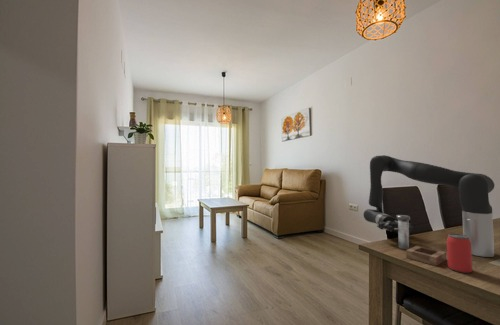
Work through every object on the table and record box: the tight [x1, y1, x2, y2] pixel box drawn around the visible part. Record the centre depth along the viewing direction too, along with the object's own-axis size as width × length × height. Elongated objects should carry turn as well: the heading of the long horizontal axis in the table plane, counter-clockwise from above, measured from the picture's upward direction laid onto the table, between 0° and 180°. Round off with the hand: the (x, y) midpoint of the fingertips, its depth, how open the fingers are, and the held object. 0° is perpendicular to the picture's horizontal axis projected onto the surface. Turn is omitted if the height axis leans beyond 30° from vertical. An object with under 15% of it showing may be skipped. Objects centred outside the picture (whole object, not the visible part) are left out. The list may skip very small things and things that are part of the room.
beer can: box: [446, 233, 473, 274], centre depth 85 cm, size 7×7×12 cm
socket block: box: [405, 245, 447, 267], centre depth 95 cm, size 10×10×3 cm
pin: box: [395, 214, 411, 251], centre depth 108 cm, size 5×5×14 cm
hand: (401, 229), depth 110 cm, fingers open, 8 cm apart
